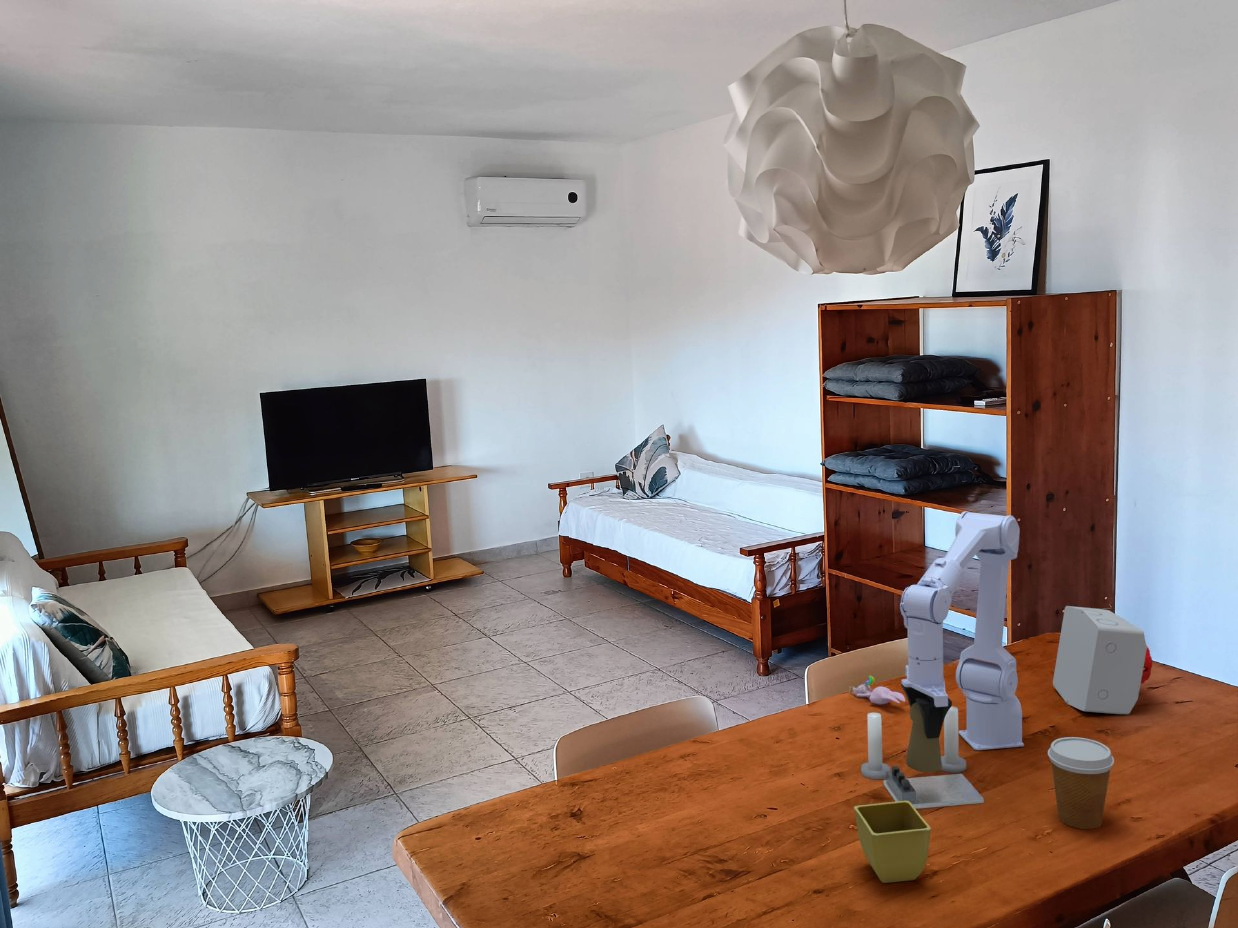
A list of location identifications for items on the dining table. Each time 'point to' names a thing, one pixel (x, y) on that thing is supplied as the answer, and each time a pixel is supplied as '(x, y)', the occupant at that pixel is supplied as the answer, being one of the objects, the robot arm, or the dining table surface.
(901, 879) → the flower pot
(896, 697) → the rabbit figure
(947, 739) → the post
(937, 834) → the dining table surface
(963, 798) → the board
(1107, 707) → the electrical switch box
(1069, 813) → the disposable coffee cup
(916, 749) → the cork
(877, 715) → the post
